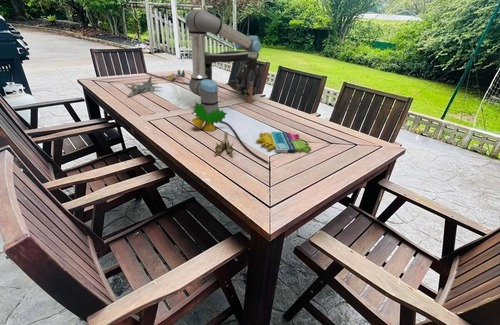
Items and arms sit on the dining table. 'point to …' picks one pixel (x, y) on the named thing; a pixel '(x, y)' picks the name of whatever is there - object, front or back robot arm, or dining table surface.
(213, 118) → the ornament
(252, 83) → the lid
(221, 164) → the dining table surface
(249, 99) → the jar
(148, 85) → the airplane
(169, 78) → the toy
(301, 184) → the dining table surface
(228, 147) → the jawbone
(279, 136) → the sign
